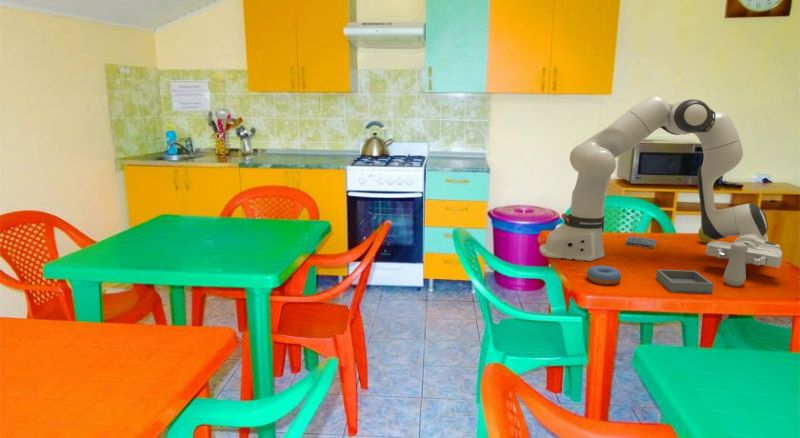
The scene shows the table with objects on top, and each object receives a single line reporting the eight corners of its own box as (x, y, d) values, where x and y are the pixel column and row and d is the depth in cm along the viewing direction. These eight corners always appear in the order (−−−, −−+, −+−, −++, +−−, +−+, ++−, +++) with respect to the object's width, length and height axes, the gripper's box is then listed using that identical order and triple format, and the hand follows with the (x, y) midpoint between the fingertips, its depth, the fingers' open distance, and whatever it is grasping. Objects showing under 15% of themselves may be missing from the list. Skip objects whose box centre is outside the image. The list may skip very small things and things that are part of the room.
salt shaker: (747, 288, 161) (754, 246, 158) (726, 286, 162) (733, 245, 159) (739, 281, 166) (746, 241, 163) (719, 280, 167) (725, 240, 164)
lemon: (713, 246, 204) (716, 225, 202) (696, 244, 207) (699, 223, 205) (713, 242, 208) (716, 222, 207) (697, 240, 211) (700, 220, 209)
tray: (670, 292, 157) (671, 282, 157) (655, 278, 169) (656, 269, 168) (712, 293, 156) (713, 283, 156) (694, 279, 168) (695, 270, 167)
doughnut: (602, 272, 174) (603, 259, 172) (627, 283, 165) (629, 270, 164) (579, 280, 170) (580, 266, 168) (604, 292, 161) (605, 278, 160)
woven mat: (656, 243, 209) (657, 238, 208) (653, 250, 200) (654, 245, 199) (628, 240, 214) (628, 235, 213) (623, 246, 205) (624, 241, 205)
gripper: (712, 234, 180) (701, 242, 170) (786, 246, 167) (779, 256, 157) (709, 252, 182) (699, 261, 172) (782, 265, 169) (776, 276, 158)
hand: (738, 259), depth 164 cm, fingers open, 8 cm apart
